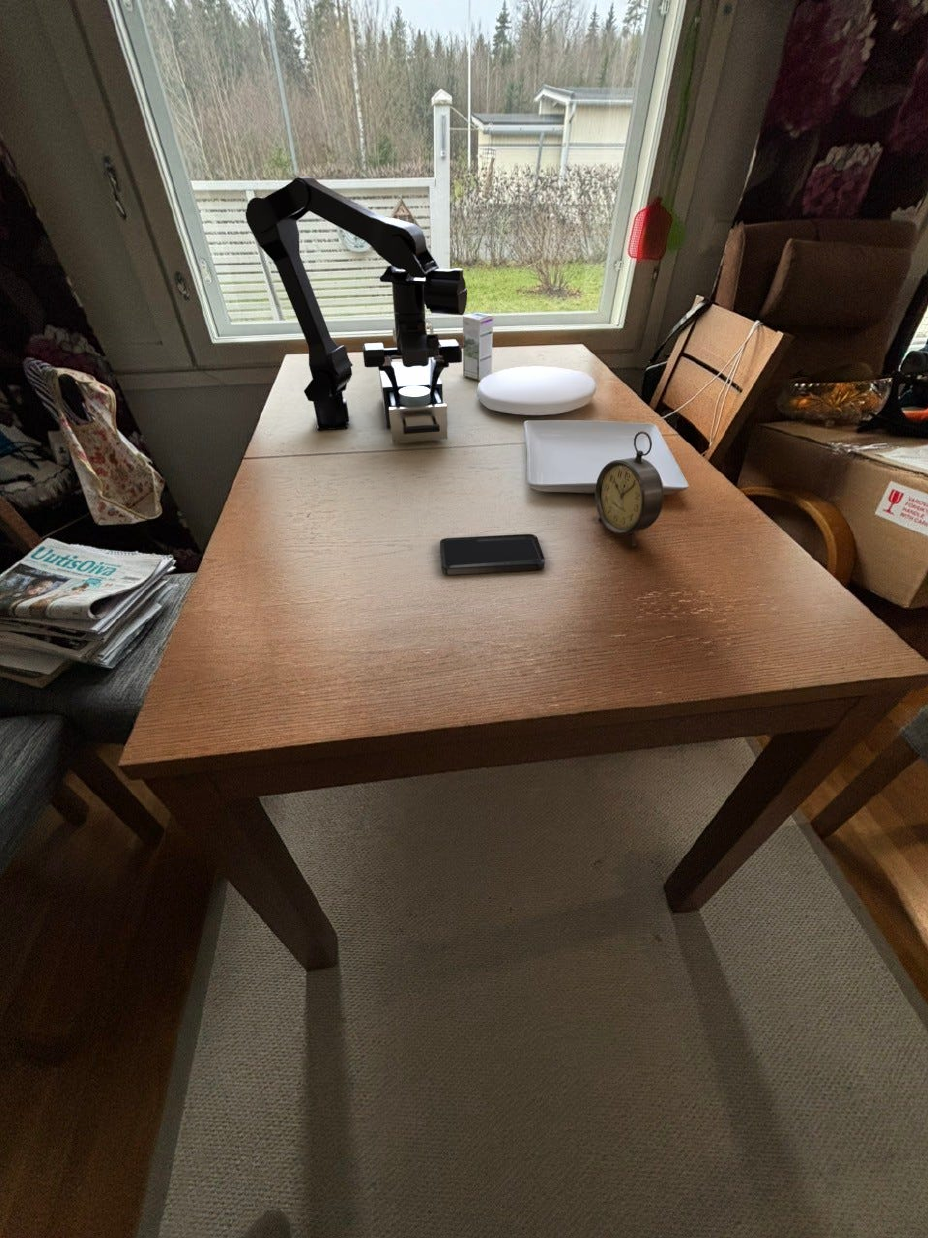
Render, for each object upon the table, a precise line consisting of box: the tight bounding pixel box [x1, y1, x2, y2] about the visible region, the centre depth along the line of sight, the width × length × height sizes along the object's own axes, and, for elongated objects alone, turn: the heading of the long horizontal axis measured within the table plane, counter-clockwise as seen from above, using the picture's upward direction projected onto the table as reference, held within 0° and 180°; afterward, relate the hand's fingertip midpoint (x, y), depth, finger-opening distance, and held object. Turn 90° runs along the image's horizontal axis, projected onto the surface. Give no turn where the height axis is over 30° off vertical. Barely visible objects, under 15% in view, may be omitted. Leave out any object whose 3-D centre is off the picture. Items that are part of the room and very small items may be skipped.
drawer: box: [388, 388, 449, 444], centre depth 105 cm, size 20×11×7 cm, turn 10°
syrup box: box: [462, 312, 494, 382], centre depth 130 cm, size 6×6×14 cm
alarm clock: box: [594, 431, 665, 549], centre depth 75 cm, size 11×5×16 cm, turn 24°
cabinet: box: [378, 359, 444, 429], centre depth 114 cm, size 17×13×9 cm
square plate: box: [523, 419, 690, 496], centre depth 95 cm, size 27×27×4 cm
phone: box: [439, 533, 546, 576], centre depth 75 cm, size 8×1×15 cm
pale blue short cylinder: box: [399, 386, 431, 406], centre depth 102 cm, size 6×6×3 cm
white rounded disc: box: [476, 365, 597, 416], centre depth 120 cm, size 28×6×27 cm
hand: (415, 398), depth 103 cm, fingers closed on pale blue short cylinder, 6 cm apart
